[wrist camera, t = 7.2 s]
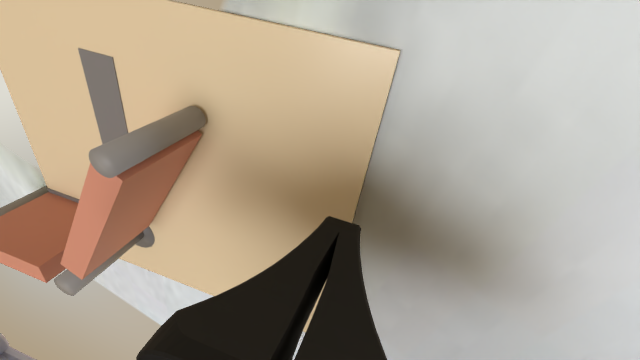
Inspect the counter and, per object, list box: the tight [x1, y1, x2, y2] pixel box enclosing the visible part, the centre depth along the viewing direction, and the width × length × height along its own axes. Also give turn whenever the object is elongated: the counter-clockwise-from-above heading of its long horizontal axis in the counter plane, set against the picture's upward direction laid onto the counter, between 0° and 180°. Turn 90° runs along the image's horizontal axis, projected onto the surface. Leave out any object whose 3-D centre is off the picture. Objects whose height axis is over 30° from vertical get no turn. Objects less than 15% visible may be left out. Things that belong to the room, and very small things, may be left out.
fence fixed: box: [0, 187, 144, 296], centre depth 18 cm, size 8×1×5 cm, turn 81°
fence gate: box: [61, 106, 206, 280], centre depth 13 cm, size 9×1×4 cm, turn 141°
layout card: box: [0, 0, 401, 332], centre depth 16 cm, size 19×16×1 cm
